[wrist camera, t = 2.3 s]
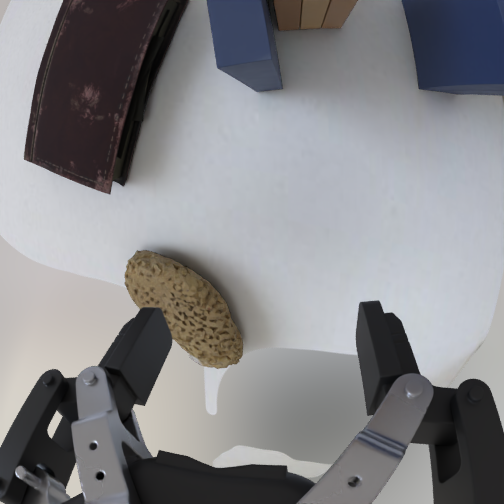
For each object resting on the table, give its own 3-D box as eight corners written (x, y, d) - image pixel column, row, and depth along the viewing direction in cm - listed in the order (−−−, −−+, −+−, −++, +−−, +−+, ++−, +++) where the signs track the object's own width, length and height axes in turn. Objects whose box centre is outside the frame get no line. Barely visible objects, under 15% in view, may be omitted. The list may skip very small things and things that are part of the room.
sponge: (256, 332, 44) (202, 232, 32) (243, 376, 38) (173, 282, 27) (188, 329, 49) (126, 243, 37) (172, 366, 43) (96, 283, 32)
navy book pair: (437, -5, 16) (512, -48, 1) (457, 94, 23) (558, 102, 8) (397, -14, 17) (459, -76, 2) (418, 89, 24) (516, 84, 9)
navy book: (263, -17, 20) (236, -103, 5) (282, 88, 26) (272, 59, 12) (239, -13, 21) (192, -94, 6) (256, 91, 27) (216, 68, 12)
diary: (41, 151, 33) (19, 159, 28) (84, -3, 21) (62, -9, 16) (132, 186, 34) (112, 198, 29) (196, 1, 22) (181, -14, 18)
